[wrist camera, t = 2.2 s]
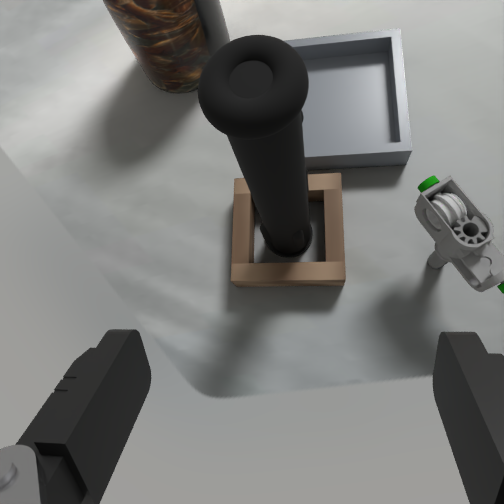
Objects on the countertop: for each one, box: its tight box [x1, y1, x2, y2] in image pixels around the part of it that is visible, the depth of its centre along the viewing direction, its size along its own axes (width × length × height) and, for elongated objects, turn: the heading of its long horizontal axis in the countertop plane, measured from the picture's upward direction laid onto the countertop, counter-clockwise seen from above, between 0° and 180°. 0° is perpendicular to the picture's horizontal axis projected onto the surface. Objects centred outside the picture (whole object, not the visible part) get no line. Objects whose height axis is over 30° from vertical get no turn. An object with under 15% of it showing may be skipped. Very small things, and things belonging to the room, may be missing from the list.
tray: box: [284, 28, 412, 170], centre depth 45 cm, size 15×15×3 cm
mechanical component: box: [414, 176, 504, 294], centre depth 35 cm, size 3×10×10 cm, turn 30°
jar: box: [103, 0, 230, 93], centre depth 45 cm, size 12×12×15 cm
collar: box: [231, 173, 346, 287], centre depth 41 cm, size 11×11×3 cm
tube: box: [198, 35, 313, 257], centre depth 31 cm, size 25×6×6 cm
